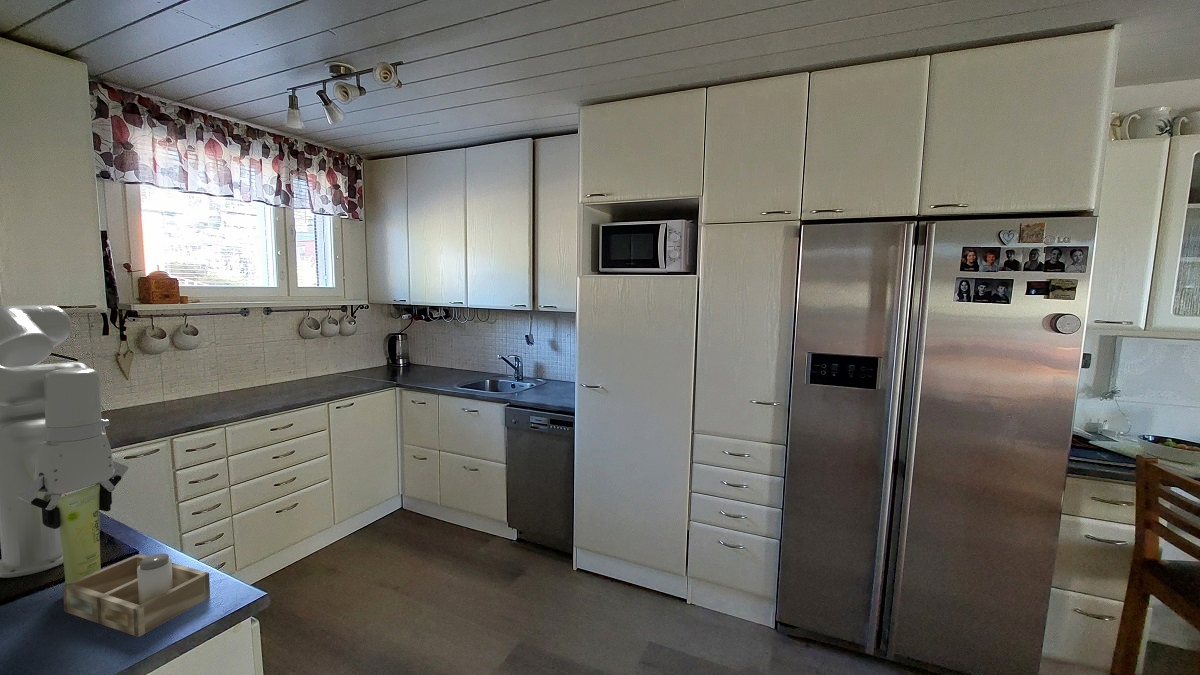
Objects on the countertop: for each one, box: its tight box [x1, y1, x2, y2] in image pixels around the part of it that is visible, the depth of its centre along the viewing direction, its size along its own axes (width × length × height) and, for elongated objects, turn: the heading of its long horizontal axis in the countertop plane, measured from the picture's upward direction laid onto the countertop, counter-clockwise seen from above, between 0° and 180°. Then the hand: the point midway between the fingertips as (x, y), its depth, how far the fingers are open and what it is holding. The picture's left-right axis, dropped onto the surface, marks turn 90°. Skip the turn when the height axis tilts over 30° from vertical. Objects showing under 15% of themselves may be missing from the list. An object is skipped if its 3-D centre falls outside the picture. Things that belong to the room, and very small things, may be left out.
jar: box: [137, 553, 173, 605], centre depth 93 cm, size 5×5×10 cm
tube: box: [56, 484, 102, 585], centre depth 98 cm, size 6×5×20 cm
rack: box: [62, 553, 211, 638], centre depth 94 cm, size 20×12×6 cm, turn 73°
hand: (79, 517), depth 98 cm, fingers closed on tube, 7 cm apart
